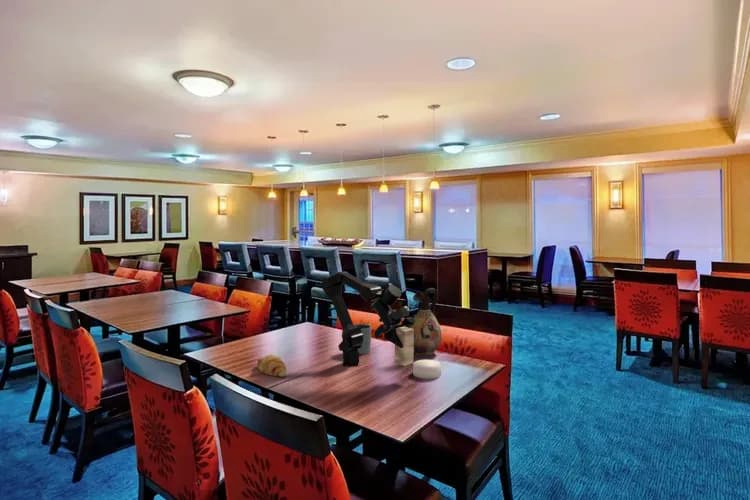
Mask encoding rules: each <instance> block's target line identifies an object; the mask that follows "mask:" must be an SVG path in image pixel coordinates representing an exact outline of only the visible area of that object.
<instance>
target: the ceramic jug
mask: <svg viewBox="0 0 750 500" xmlns="http://www.w3.org/2000/svg"><path fill="white" fill-rule="evenodd" d="M430 293H431V294H433V298H432V299H431V297H430V296H429V294H430ZM412 299H413V301H416V302H418V303H419V304H421V305H420V309H419V310H418V312H417V313H416V314H415V316H414V317H413V319H414V320H415V323H414V324H413V325H412V326H411V327H410V328H412V329H414V351H413V354H415V355H418V356H432V355H434V354H435V351H436V350H437V348H438V347H440V345H441V342H442V338H443V337H442V336H443V335H442V334H443V333H442V329H441V326H440V323H439V322H438V320H437V318H436V316H435V309H436V304H437V301H438V299H439V293H438V290H437V289H435V288H434V287H428V288H427V289H425V290H424V293H422V292H420V291H417V292H415V293H414V295H413V297H412ZM429 303H431V304H430V305H429Z"/></svg>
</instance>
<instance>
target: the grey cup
mask: <svg viewBox="0 0 750 500" xmlns="http://www.w3.org/2000/svg"><path fill="white" fill-rule="evenodd" d="M354 325H355V326H356V327H360V328H361V332H362V334H363V339H364V340H363V343H362V346H361V348H359V349H358V352H359V355H366V354H367V355H368V354H370V353H371V349H372V347H371V343H372V325H371V324H367V323H359V324H358V323H357V324H354Z"/></svg>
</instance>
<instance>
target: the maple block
mask: <svg viewBox="0 0 750 500" xmlns="http://www.w3.org/2000/svg"><path fill="white" fill-rule="evenodd" d="M396 334H397V336H398V337H399V339H400V341H401V343H402V345H403V348H400V347H398V346H397V345H395V344H394V363H395V364H397V365H401V366H403V367H406V366H408V365H409V366H410V365H411V364H412V365H413V363H414V329H412V328H408V327H400V328H396Z"/></svg>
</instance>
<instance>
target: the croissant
mask: <svg viewBox="0 0 750 500" xmlns="http://www.w3.org/2000/svg"><path fill="white" fill-rule="evenodd" d="M256 365H257V370H258V371H259V372H260V373H262V374H263V373H264V374H263V375H265V374H269V375H268V376H272V375H273V376H272V377H278V378H282V377H285V376H286V375H287V371H288V370H287V366H286V363H284V362H283V360H282V358H281V357H279V356H277V355H275V354H268V355H266V356H265V357H261V358H258V359H257V364H256Z"/></svg>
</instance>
